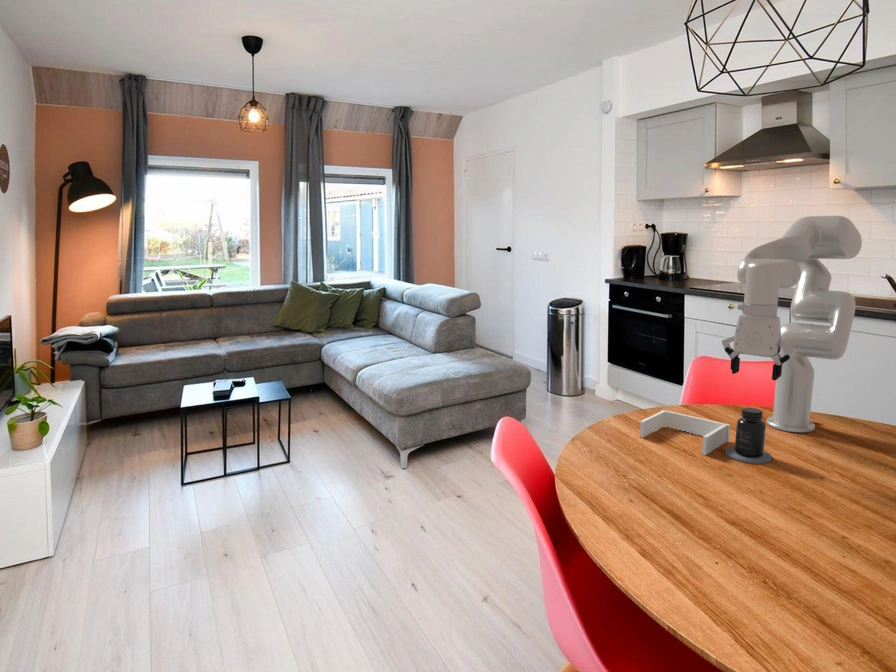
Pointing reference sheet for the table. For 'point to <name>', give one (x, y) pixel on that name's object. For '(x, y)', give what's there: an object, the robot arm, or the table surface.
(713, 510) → the table surface
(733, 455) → the mat
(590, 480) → the table surface
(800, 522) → the table surface
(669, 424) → the white u-shaped bracket
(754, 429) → the supplement bottle
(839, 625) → the table surface
